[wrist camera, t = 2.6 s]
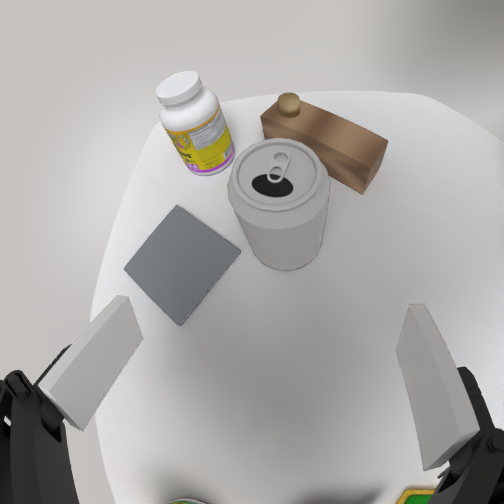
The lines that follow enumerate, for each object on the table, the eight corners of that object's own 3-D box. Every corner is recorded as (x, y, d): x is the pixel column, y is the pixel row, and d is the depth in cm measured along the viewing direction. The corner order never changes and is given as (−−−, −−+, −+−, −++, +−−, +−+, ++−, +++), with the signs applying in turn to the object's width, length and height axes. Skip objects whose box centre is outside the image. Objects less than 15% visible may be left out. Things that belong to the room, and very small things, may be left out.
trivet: (240, 252, 29) (239, 249, 28) (181, 326, 27) (177, 325, 27) (179, 207, 33) (176, 204, 32) (127, 270, 31) (123, 269, 30)
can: (240, 261, 29) (203, 202, 18) (264, 200, 31) (244, 123, 20) (310, 282, 27) (316, 231, 16) (329, 217, 29) (341, 141, 18)
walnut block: (379, 167, 30) (392, 128, 24) (362, 194, 29) (374, 155, 23) (287, 122, 35) (282, 82, 28) (265, 143, 34) (257, 103, 27)
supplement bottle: (181, 155, 36) (142, 86, 24) (223, 133, 36) (196, 59, 24) (197, 186, 33) (153, 112, 21) (244, 162, 33) (218, 80, 22)
